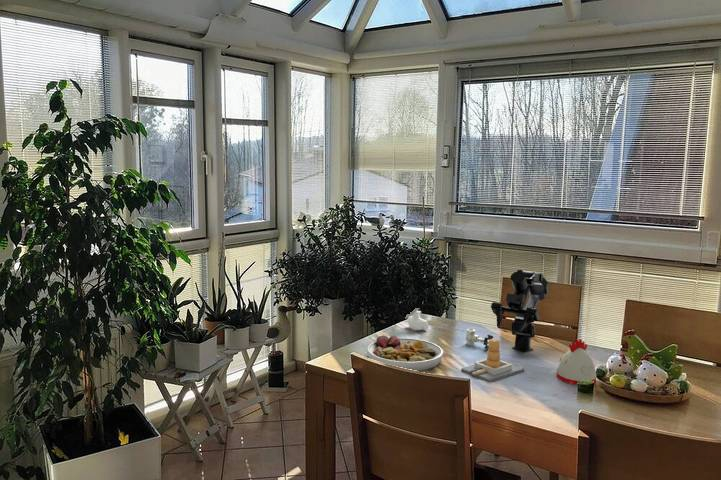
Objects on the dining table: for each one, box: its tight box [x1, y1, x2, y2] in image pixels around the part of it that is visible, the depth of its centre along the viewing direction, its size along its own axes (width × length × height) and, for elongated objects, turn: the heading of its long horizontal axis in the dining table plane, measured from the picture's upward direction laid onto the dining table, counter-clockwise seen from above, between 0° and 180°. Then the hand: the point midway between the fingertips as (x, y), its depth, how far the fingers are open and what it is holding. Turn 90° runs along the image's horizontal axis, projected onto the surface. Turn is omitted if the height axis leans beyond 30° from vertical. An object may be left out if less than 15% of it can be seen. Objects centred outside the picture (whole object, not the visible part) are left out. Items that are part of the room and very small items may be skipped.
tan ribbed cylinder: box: [485, 338, 501, 369], centre depth 230 cm, size 5×5×11 cm
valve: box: [465, 328, 494, 351], centre depth 259 cm, size 7×7×12 cm
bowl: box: [366, 334, 444, 372], centre depth 240 cm, size 30×30×8 cm
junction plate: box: [460, 358, 525, 383], centre depth 230 cm, size 21×14×3 cm, turn 127°
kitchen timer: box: [556, 338, 597, 386], centre depth 223 cm, size 14×14×15 cm
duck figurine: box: [406, 309, 429, 331], centre depth 282 cm, size 12×8×11 cm
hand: (508, 329), depth 239 cm, fingers open, 9 cm apart
